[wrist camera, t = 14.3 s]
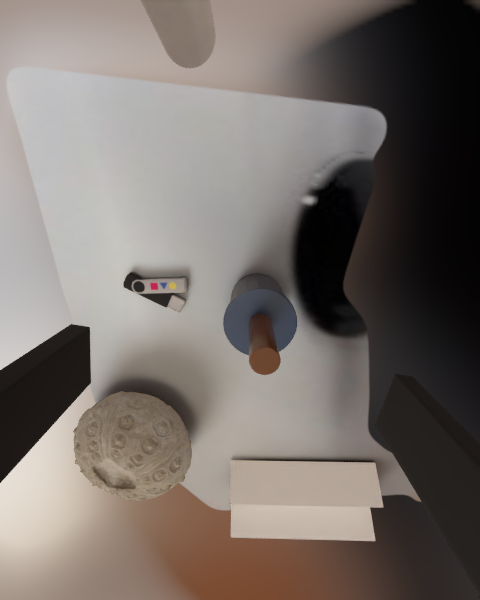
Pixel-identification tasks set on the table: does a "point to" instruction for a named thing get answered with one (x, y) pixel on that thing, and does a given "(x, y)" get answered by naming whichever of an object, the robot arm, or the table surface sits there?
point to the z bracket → (303, 499)
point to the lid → (260, 326)
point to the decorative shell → (132, 446)
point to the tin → (255, 284)
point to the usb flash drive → (159, 289)
